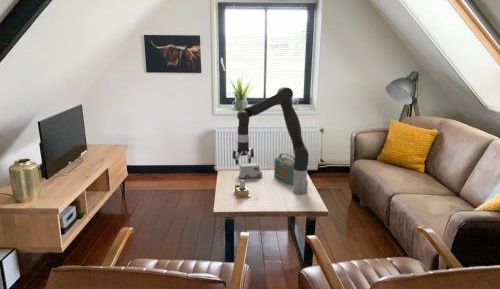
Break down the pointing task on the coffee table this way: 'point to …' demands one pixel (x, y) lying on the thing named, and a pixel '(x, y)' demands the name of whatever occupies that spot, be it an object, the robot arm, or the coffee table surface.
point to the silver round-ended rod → (242, 184)
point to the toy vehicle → (250, 170)
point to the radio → (284, 168)
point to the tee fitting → (241, 192)
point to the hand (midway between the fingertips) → (243, 164)
